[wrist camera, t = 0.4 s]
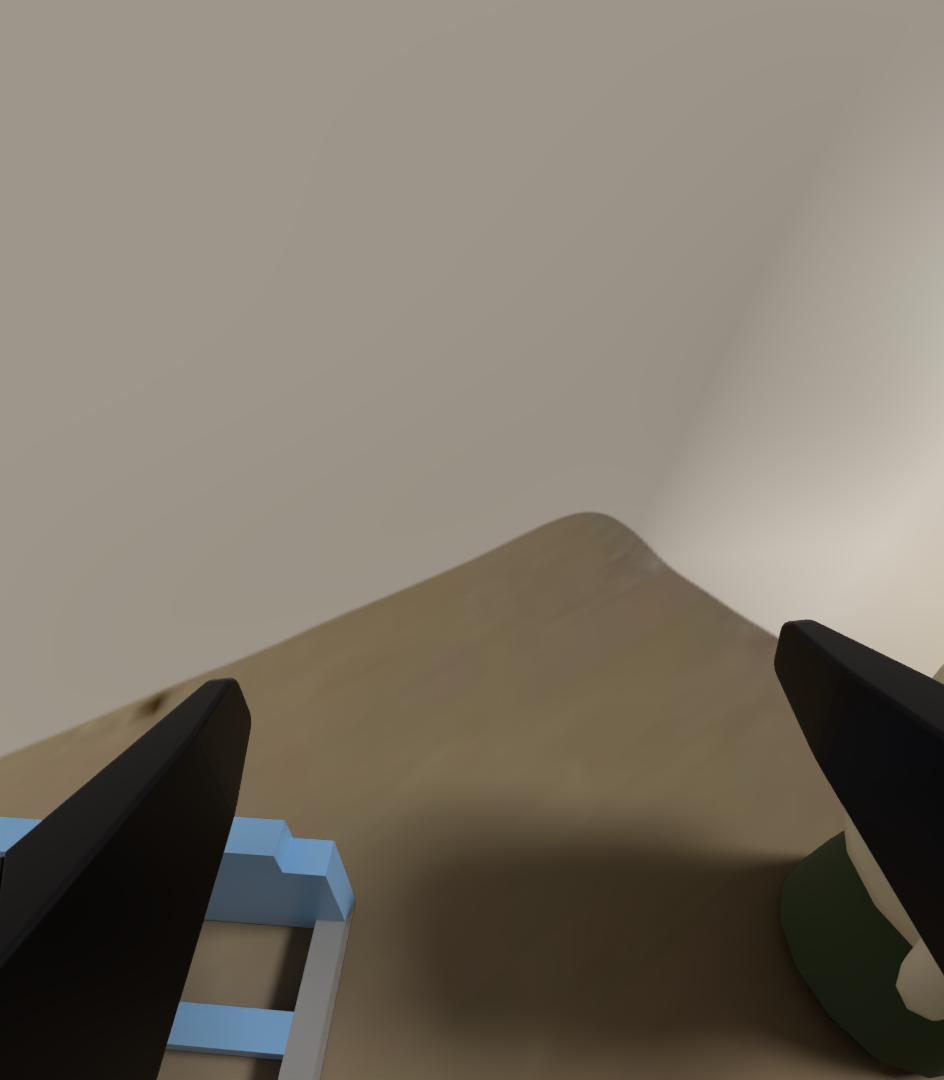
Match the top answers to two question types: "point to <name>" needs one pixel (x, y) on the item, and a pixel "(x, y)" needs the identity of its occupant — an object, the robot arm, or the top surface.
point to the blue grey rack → (272, 899)
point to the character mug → (865, 953)
